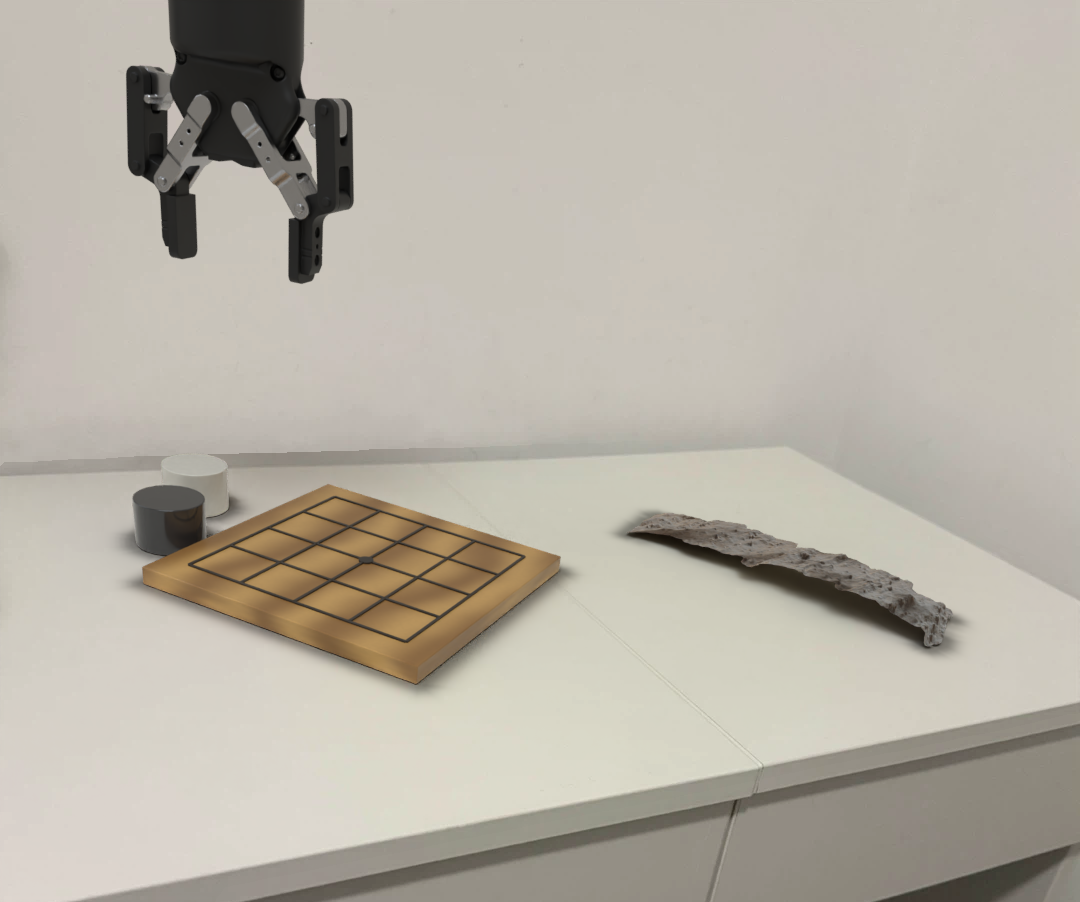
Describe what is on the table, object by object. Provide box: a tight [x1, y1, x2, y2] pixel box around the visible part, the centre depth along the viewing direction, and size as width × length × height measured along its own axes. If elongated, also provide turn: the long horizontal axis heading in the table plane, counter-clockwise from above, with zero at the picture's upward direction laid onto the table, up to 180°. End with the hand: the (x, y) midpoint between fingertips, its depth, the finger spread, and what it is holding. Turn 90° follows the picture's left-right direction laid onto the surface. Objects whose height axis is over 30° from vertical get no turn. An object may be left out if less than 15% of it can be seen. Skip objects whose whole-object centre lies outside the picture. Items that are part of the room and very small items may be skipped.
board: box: [141, 483, 562, 685], centre depth 71 cm, size 20×20×1 cm
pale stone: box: [160, 452, 230, 518], centre depth 77 cm, size 5×5×3 cm
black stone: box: [131, 484, 208, 556], centre depth 71 cm, size 5×5×3 cm
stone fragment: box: [626, 512, 954, 648], centre depth 80 cm, size 25×3×10 cm
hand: (241, 269), depth 68 cm, fingers open, 8 cm apart
